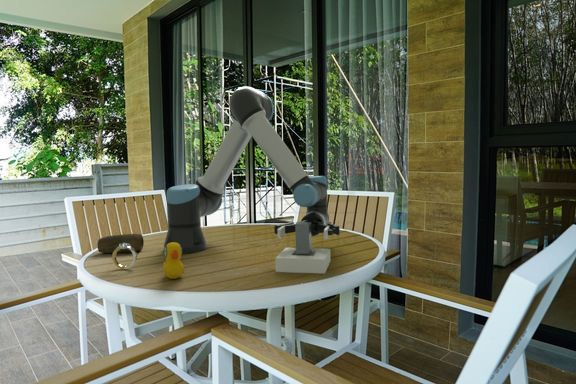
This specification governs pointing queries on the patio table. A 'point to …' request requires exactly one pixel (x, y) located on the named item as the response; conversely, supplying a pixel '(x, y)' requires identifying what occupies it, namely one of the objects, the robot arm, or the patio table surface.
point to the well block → (303, 261)
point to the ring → (124, 248)
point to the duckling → (173, 261)
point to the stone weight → (113, 242)
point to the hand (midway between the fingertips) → (301, 234)
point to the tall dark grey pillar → (303, 239)
